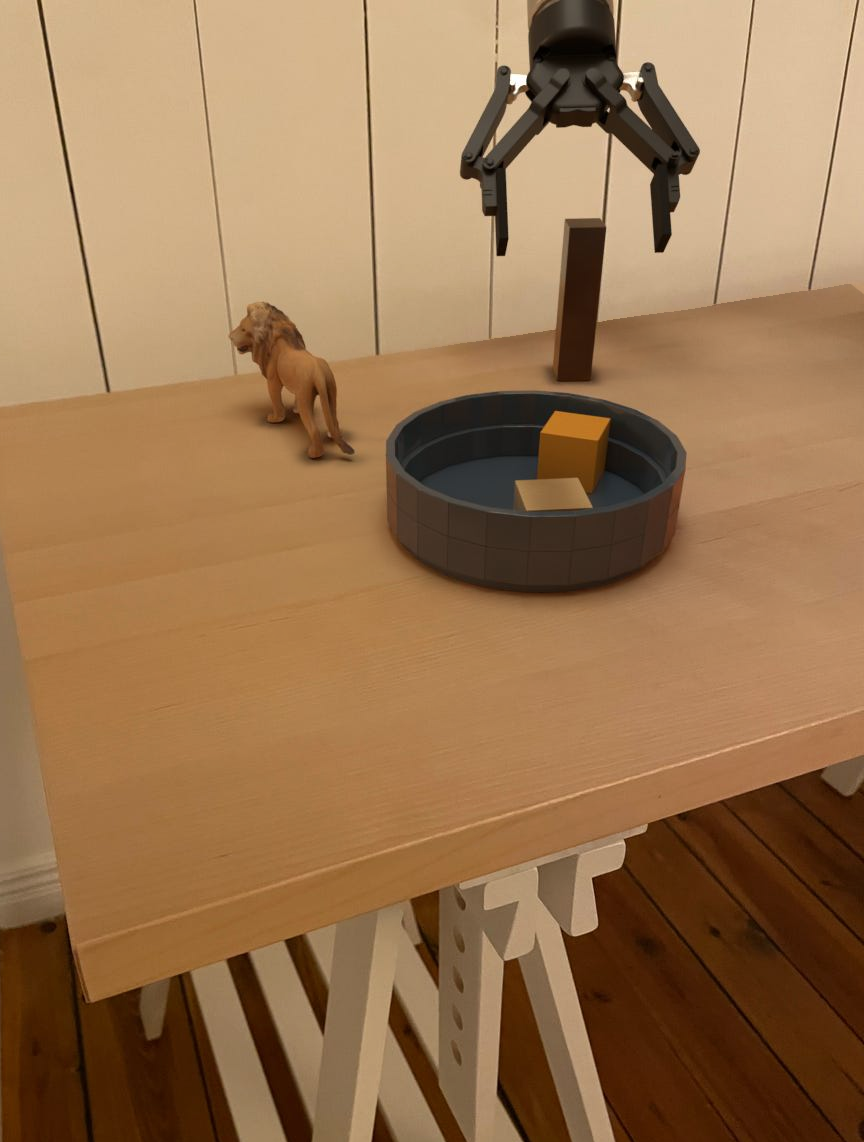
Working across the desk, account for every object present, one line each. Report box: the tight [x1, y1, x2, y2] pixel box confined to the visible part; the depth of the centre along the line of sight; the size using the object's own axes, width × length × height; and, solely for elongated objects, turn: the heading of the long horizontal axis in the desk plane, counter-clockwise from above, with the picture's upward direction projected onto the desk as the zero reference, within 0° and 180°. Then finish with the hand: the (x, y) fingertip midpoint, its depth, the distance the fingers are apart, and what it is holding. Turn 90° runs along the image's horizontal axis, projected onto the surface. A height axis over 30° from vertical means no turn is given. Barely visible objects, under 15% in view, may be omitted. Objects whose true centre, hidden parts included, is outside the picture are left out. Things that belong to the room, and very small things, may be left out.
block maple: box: [513, 478, 593, 512], centre depth 63 cm, size 4×4×4 cm
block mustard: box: [537, 411, 611, 494], centre depth 71 cm, size 4×4×4 cm
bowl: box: [385, 389, 687, 593], centre depth 67 cm, size 19×19×6 cm
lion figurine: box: [227, 301, 356, 459], centre depth 79 cm, size 15×5×9 cm, turn 36°
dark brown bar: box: [552, 217, 607, 382], centre depth 87 cm, size 3×3×13 cm
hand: (582, 246), depth 85 cm, fingers open, 13 cm apart
